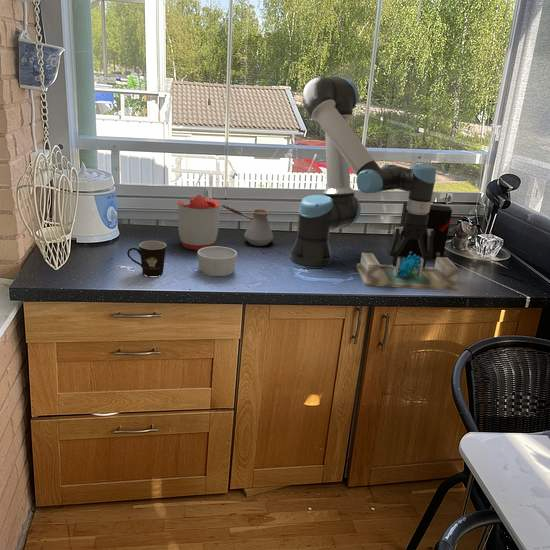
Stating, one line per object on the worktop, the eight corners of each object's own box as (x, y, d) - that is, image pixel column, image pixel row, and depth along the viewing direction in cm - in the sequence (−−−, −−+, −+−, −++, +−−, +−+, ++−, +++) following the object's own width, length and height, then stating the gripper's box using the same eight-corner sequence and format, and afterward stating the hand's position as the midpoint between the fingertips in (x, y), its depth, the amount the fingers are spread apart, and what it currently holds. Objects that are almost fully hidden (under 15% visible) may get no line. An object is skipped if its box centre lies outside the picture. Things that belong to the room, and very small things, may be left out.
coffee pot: (270, 238, 232) (273, 202, 226) (274, 247, 221) (277, 210, 216) (218, 237, 228) (219, 201, 222) (220, 246, 217) (221, 208, 212)
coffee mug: (170, 272, 189) (171, 243, 185) (157, 280, 181) (157, 251, 178) (140, 265, 192) (140, 237, 189) (126, 274, 185) (125, 244, 181)
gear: (390, 265, 202) (413, 248, 200) (399, 276, 205) (422, 259, 202) (399, 281, 193) (423, 263, 190) (408, 291, 195) (433, 274, 193)
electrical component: (438, 253, 231) (448, 205, 223) (443, 261, 221) (453, 211, 214) (395, 248, 232) (403, 200, 225) (398, 256, 222) (406, 207, 215)
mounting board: (364, 285, 191) (367, 265, 188) (356, 268, 206) (358, 249, 203) (457, 290, 193) (461, 270, 191) (442, 273, 208) (445, 254, 206)
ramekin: (189, 273, 189) (190, 254, 187) (208, 262, 201) (209, 243, 198) (225, 281, 185) (226, 261, 183) (242, 269, 197) (243, 250, 194)
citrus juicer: (193, 236, 227) (194, 186, 220) (226, 246, 218) (229, 195, 211) (165, 244, 215) (165, 192, 208) (199, 255, 206) (200, 202, 199)
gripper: (390, 213, 186) (380, 277, 194) (451, 216, 187) (438, 281, 195) (385, 207, 193) (375, 270, 201) (443, 211, 194) (432, 273, 202)
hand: (406, 275), depth 198 cm, fingers closed on gear, 8 cm apart
